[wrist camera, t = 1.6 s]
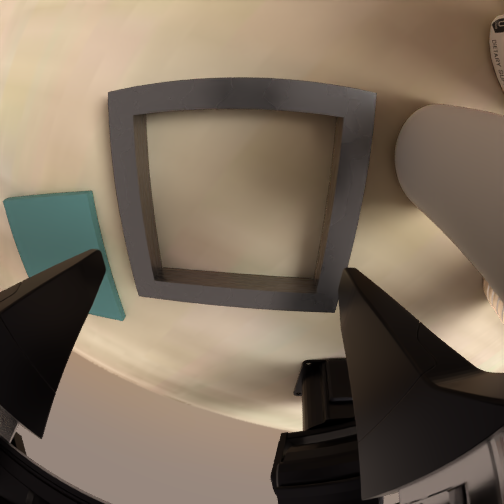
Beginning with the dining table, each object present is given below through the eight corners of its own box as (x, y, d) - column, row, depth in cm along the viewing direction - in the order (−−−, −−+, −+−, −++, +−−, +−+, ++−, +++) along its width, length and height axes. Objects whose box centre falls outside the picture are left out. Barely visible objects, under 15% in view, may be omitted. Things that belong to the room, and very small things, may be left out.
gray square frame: (331, 297, 18) (334, 312, 16) (146, 282, 18) (138, 295, 17) (366, 93, 11) (376, 93, 10) (122, 91, 12) (108, 92, 10)
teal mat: (125, 316, 21) (122, 321, 20) (42, 297, 21) (39, 300, 21) (91, 190, 15) (87, 194, 14) (7, 198, 16) (3, 200, 15)
